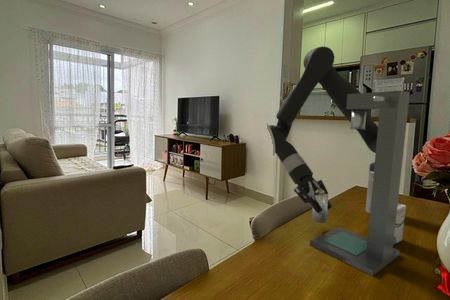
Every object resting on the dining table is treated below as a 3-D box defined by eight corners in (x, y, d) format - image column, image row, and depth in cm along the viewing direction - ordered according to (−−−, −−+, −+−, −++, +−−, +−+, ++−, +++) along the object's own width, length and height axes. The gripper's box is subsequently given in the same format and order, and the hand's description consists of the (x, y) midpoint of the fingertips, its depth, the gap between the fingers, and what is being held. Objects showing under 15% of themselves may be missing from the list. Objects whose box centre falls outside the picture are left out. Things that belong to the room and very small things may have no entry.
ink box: (390, 247, 74) (395, 200, 72) (372, 240, 78) (377, 196, 76) (402, 240, 79) (407, 195, 77) (385, 233, 83) (390, 191, 81)
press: (338, 231, 84) (348, 97, 78) (398, 255, 70) (417, 93, 64) (306, 246, 74) (315, 94, 68) (369, 278, 60) (387, 88, 54)
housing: (317, 215, 88) (318, 187, 87) (329, 220, 84) (331, 190, 83) (309, 219, 85) (310, 189, 84) (321, 224, 82) (323, 193, 80)
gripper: (290, 165, 84) (319, 209, 76) (315, 160, 92) (344, 200, 84) (278, 177, 89) (304, 220, 81) (303, 171, 97) (329, 210, 89)
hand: (324, 209), depth 83 cm, fingers closed on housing, 4 cm apart
